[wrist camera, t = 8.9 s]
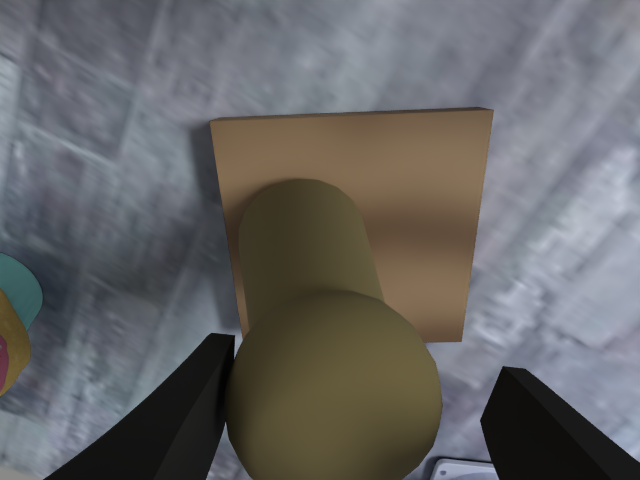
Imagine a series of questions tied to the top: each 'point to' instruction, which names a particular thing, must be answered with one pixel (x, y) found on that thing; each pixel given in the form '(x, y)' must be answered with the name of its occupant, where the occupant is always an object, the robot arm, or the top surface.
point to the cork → (324, 349)
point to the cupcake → (16, 317)
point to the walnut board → (375, 194)
